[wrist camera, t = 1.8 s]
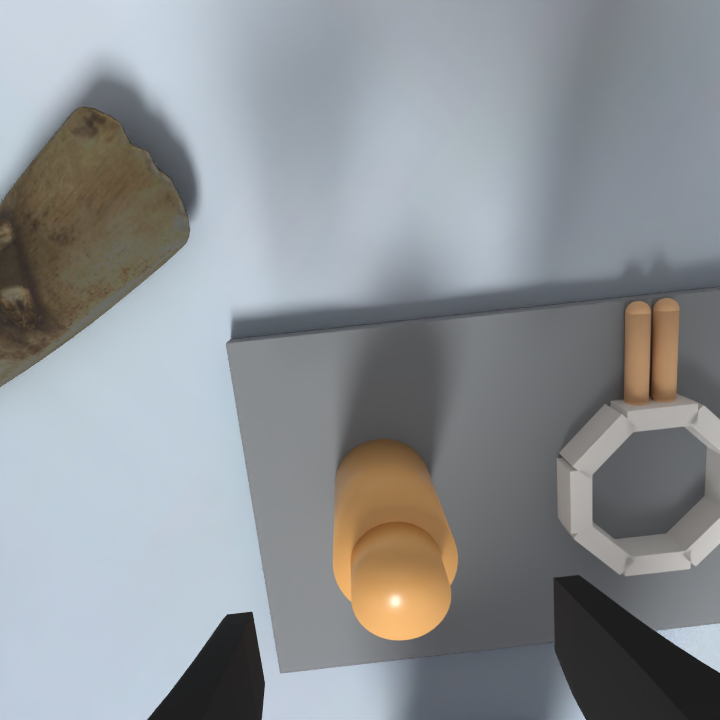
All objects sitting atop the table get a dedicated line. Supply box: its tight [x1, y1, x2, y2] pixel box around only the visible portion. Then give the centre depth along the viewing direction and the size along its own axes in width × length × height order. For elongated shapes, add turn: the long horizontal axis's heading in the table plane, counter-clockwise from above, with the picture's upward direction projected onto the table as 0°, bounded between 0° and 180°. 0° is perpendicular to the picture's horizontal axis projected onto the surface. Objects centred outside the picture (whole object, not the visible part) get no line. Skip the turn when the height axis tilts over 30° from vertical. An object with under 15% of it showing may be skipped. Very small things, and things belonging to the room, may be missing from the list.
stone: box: [0, 107, 190, 387], centre depth 18 cm, size 13×5×2 cm, turn 134°
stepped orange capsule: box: [333, 439, 458, 640], centre depth 17 cm, size 4×4×6 cm
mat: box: [226, 287, 720, 673], centre depth 20 cm, size 14×20×2 cm
